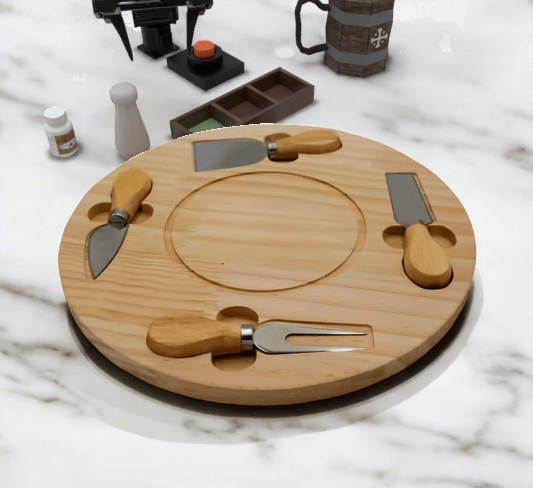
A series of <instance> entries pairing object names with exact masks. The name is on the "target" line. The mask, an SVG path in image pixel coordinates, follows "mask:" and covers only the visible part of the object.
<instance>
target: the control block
mask: <svg viewBox="0 0 533 488" xmlns="http://www.w3.org/2000/svg"><path fill="white" fill-rule="evenodd" d="M193 46H194V44H192V48H191V54H190V56H188V54H187V48H184V49H183V50H180V51H177V52H176V53H172V54H171V55H168V56H167V57H165V58H166V59H165V60H166V68H168V70H171V71H172V72H174V73H175V74H177V75H179V76H180V77H181V78H183V79H185V80H186V81H188V82H190V83H191V84H192V85H195V86H196V87H198V88H199V89H200V90H202V91H204V92H207V91H209V90H212V89H213V88H216V87H217V86H219V85H222V84H224V83H227V82H228V81H230V80H232V79H234V78H236V77H239V76H240V75H243V74H244V73H245V62H244V61H242V60H241V59H239V58H237V57H236V56H233V55H232V54H230V53H228V52H227V51H225V50H223V48H222V47H221V46H219V45H217V44H216V43H214V48H215V54H214V55H213V56H211V57H206V58H201V57H196V56H195V55H194V47H193Z"/></svg>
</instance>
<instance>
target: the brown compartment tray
mask: <svg viewBox="0 0 533 488" xmlns="http://www.w3.org/2000/svg"><path fill="white" fill-rule="evenodd" d="M315 87H316V86H315V85H314V84H312V83H310V82H308V81H306V80H305V79H303V78H301V77H299V76H297V75H296V74H294V73H292V72H290V71H289V70H287V69H285V68H283V67H281V66H278V67H275V68H273V69H272V70H270V71H268V72H266V73H264V74H262V75H260V76H258V77H256V78H254V79H252V80H250V81H248V82H246V83H244V84H242V85H240V86H237V87H235V88H233V89H231V90H230V91H227V92H226V93H225V92H224V93H223V94H222V95H219V96H217V97H215V98H212V99H211V100H209V101H207V102H205V103H203V104H201V105H199V106H197V107H195V108H192V109H191V110H188V111H187V112H184V113H183V114H180V115H179V116H176V117H174V118H172V119H170V120H169V128H170V138H171V139H173V140H174V139H177V138H179V137H182V136H185V135H189V134H193V133H196V132H201V131H206V130H211V129H217V128H223V127H230V126H231V127H232V126H240V125H249V124H260V123H275V124H277V123H278V122H280V121H282V120H284V119H286V118H288V117H289V116H291V115H293V114H295V113H296V112H299V111H300V110H302V109H304V108H306V107H307V106H309V105H311V104H313V103H314V102H315Z"/></svg>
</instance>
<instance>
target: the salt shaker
mask: <svg viewBox="0 0 533 488" xmlns="http://www.w3.org/2000/svg"><path fill="white" fill-rule="evenodd" d="M109 97H110V102H111V103H112V104H113V105H114V145H115V149H116V151H117V152H118V153H119V154H120V155H121V156H122V157H123V159H124V160H125V161H126V162H127V160H129V159H130V158H132V157H134V156H136V155H138V154H140V153H142V152H145V151H147V150H149V148H150V146H151V139H150V135H149V133H148V131H147V128H146V125H145V122H144V120H143V117H142V115H141V112H140V108H139V106H138V103H137V101H138V99H139V94H138V89H137V87H136V85H134V84H133V83H131V82H128V81H121V82H117V83H115V84H113V85H112V86H111V88H110V89H109ZM147 152H148V151H147Z"/></svg>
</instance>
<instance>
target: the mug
mask: <svg viewBox="0 0 533 488" xmlns="http://www.w3.org/2000/svg"><path fill="white" fill-rule="evenodd" d="M395 1H396V0H327V3H323V2H322V1H321V0H297V2H296V5H295V7H294V20H295V21H294V22H295V24H294V25H295V29H294V30H295V36H294V37H295V46H297V49H298V51H299V52H300V54H304V55H306V56H312V55H315V54H317V53H322V52H324V55H323V60H322V64H324V65H325V66H326V67H327V68H329V69H330V70H331V71H333V72H334V73H335V74H336V75H340V76H348V77H355V78H356V77H357V78H363V79H364V78H367V77H370V76H373V75H376V74H379V73H381V72H385V71H386V68H387V64H388V59H389V44H390V37H391V33H392V28H393V24H394V8H395ZM307 3H311V4H314V5H315V6H316V7H317V8H318V9H319V10H320V11H322V12H327V14H326V21H325V26H324V29H325V32H324V33H325V42H323V43H319V44H315V45H312V46H310V47H306V46H304V45H303V43H302V27H303V25H302V18H301V11H302V8H303V5H305V4H307Z"/></svg>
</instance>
